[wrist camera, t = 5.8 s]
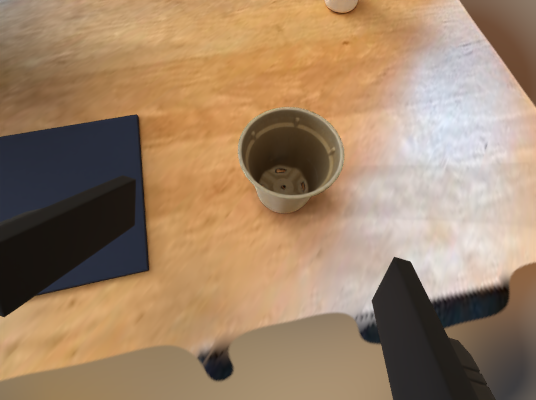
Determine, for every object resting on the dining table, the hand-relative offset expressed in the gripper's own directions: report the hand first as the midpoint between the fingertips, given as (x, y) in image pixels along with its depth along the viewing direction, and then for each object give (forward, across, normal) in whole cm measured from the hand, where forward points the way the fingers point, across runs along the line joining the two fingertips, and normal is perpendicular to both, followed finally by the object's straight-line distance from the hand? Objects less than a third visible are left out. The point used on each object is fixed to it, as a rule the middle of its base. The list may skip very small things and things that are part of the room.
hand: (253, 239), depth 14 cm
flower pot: (+19, 0, -4) cm, 19 cm away
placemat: (+12, -25, -11) cm, 29 cm away
